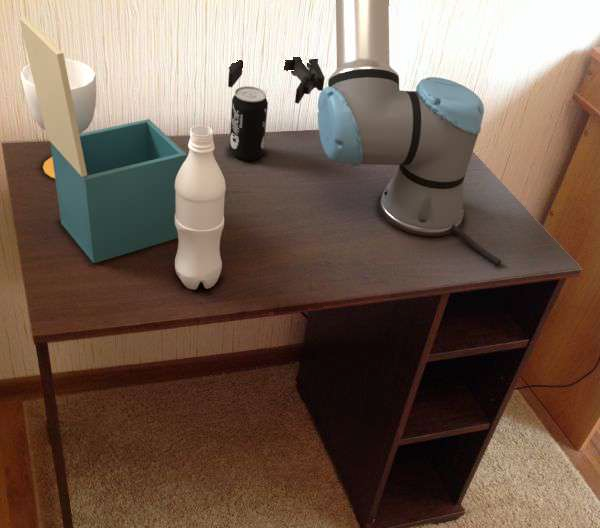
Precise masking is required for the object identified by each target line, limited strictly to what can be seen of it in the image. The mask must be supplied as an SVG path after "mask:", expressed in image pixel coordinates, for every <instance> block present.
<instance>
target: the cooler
mask: <svg viewBox="0 0 600 528" xmlns="http://www.w3.org/2000/svg"><path fill="white" fill-rule="evenodd" d="M79 136H80V141H81V146H82V151H83V156H84V161H85V167H86V172H87V176H84V177H82V176H81V175H80V174H79V173H78V172H77V171H76V170H75V169H74V167H73V166H72V165H71V164H70V163H69V162H68V161H67V160H66V159H65V157H64V156H63V155H62V154H61V153H60V152H59V151H58V150H57V148H56V147H55V146H54V145H53V144H52V143H51V142H50V141H49V143H50V151H51V157H52V159H53V166H54V173H55V179H54V180H55V188H56V194H57V202H58V210H59V217H60V224H61V225H62V226H63V228H64V229H65V230H66V231H67V233H68V234H69V235H70V236H71V237H72V239H73V240H74V241H75V242H76V244H77V245H78V246H79V247H80V249H81V250H82V252H84V253H85V254H86V256H87V257H88V259H90V261H91V262H92V263H93V264H98V263H100V262H103V261H106V260H110V259H114V258H116V257H119V256H123V255H126V254H129V253H133V252H137V251H139V250H143V249H146V248H149V247H153V246H157V245H159V244H163V243H166V242H170V241H173V240H175V239H178V232H177V228H176V226H175V213H176V191H175V179H176V176H177V174H178V171H179V170H180V168H181V166H182V165H183V163H184V161H185V160H186V158H187V157H188V154H187V153H186V152H185V151H184V150H183V149H181V147H180V146H179V145H177V143H176V142H174V141H173V140H172V139H171V138H170V137H169V136H168V135H167V134H166V133H164V132H163V131H162V130H161V129H160V127H158V126H157V125H156V123H154V122H153V121H152V120H151V119H149V118H148V119H143V120H137V121H133V122H128V123H123V124H120V125H115V126H109V127H105V128H101V129H96V130H91V131H87V132H82V133H81V134H79Z"/></svg>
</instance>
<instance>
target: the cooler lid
mask: <svg viewBox="0 0 600 528" xmlns="http://www.w3.org/2000/svg"><path fill="white" fill-rule="evenodd" d="M18 21H19V24H20V25H19V26H20V28H21V33H22V37H23V41H24V46H25V50H26V54H27V58H28V64H30V68H31V72H32V76H33V80H34V85H35V89H36V93H37V98H38V102H39V106H40V110H41V115H42V119H43V123H44V128H45V130H44V132H45V136H46V138H47V140H48V141H49V143H50V142H51V143H52V144H53V145H54V146H55V147H56V148H57V150H58V151H59V152H60V153H61V154H62V155H63V156H64V157H65V159H66V160H67V161H68V162H69V163H70V164H71V165H72V166H73V167H74V169H75V170H76V171H77V172H78V173H79V174H80V175H81V176H82V177H84V176H87V172H86V167H85V161H84V156H83V151H82V146H81V141H80V136H79V131H78V126H77V121H76V116H75V110H74V105H73V100H72V95H71V90H70V85H69V80H68V75H67V70H66V65H65V59H66V58H65V55H64V52H63V51H62V50H61V49H60V48H59V47H58V46H57V45H56V44H55V43H54V42H52V41H51V39H49V37H47V36H46V35H45V34H44V33H43V32H42V31H41V30H40V29H39V28H38V27H37V26H36V25H35V24H34V23H33V22H32V21H31V20H29V18H27V16H25V15H22V16H19V17H18Z"/></svg>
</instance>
